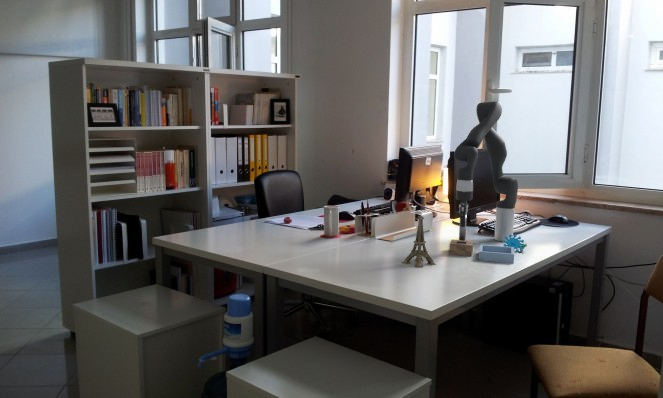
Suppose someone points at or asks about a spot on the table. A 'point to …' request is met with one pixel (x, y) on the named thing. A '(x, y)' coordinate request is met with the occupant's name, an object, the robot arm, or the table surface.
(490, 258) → the tray
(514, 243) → the gear
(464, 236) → the peg
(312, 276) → the table surface
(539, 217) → the table surface
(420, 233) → the eiffel tower
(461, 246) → the pin block
